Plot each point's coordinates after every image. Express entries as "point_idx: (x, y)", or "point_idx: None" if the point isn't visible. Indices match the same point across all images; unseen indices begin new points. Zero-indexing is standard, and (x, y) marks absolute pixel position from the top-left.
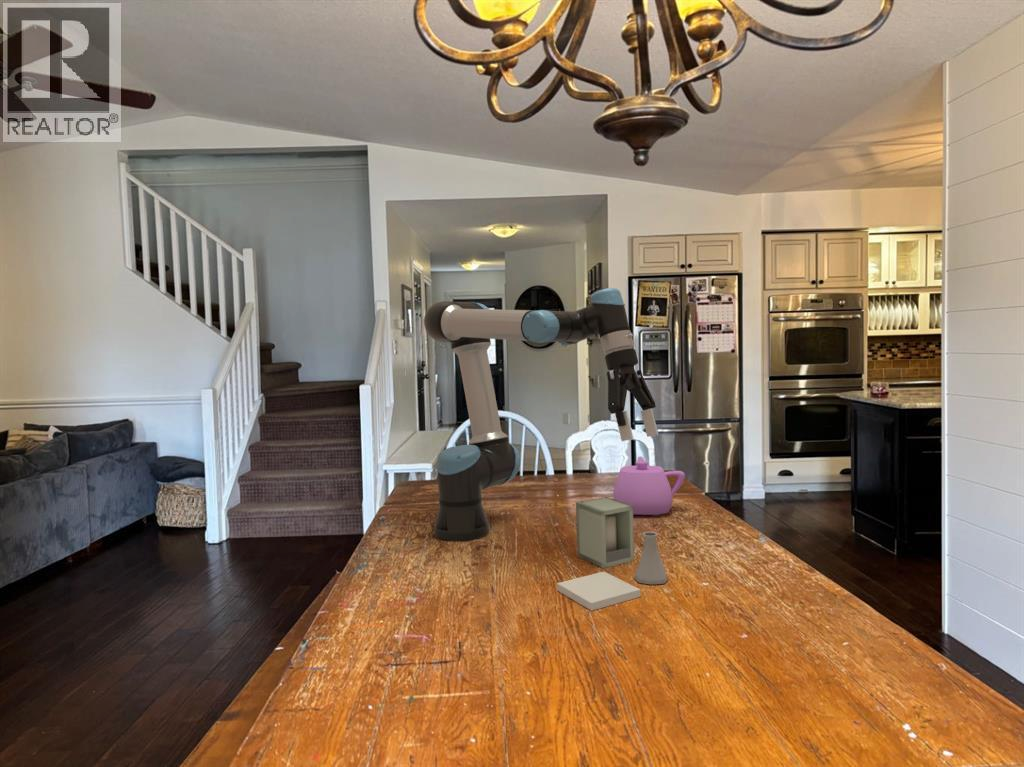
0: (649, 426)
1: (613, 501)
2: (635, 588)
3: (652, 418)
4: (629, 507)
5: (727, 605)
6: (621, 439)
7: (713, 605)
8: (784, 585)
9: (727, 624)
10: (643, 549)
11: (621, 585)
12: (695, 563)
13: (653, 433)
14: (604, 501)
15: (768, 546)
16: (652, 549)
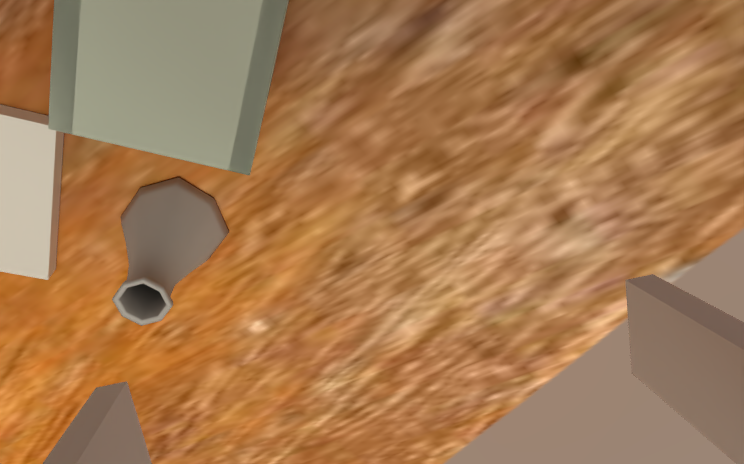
0: (680, 364)
1: (244, 54)
2: (41, 268)
3: (737, 455)
4: (230, 167)
5: (182, 407)
6: (91, 397)
7: (159, 391)
8: (368, 429)
9: None
10: (136, 257)
11: (22, 232)
12: (373, 244)
13: (638, 351)
14: (209, 13)
15: (621, 311)
16: (142, 290)
